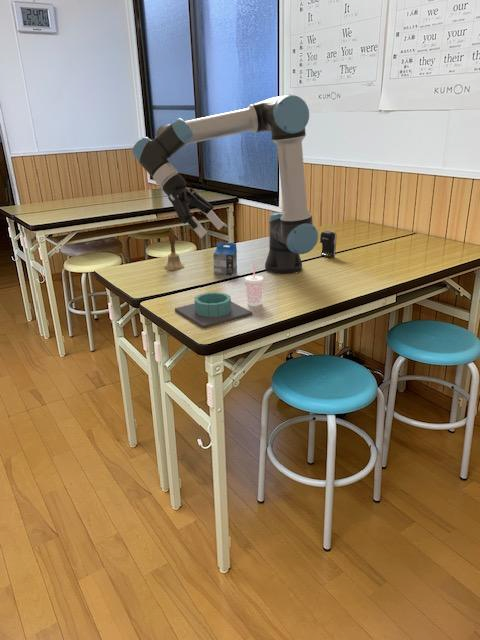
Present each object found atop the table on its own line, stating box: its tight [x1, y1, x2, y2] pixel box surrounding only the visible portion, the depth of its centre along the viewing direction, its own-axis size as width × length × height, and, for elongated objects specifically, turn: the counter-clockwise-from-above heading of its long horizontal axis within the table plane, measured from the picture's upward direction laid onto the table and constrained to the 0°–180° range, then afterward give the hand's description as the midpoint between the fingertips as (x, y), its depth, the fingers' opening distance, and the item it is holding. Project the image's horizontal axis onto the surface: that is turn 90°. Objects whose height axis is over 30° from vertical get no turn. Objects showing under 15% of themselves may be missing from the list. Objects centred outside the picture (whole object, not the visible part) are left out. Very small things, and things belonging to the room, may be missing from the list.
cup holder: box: [174, 291, 253, 329], centre depth 156 cm, size 18×18×5 cm
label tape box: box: [212, 241, 238, 276], centre depth 195 cm, size 9×4×12 cm, turn 68°
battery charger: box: [319, 230, 337, 258], centre depth 215 cm, size 7×4×11 cm, turn 38°
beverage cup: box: [244, 262, 264, 307], centre depth 162 cm, size 6×6×14 cm
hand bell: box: [164, 229, 185, 271], centre depth 204 cm, size 8×8×16 cm
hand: (213, 231), depth 159 cm, fingers open, 13 cm apart
